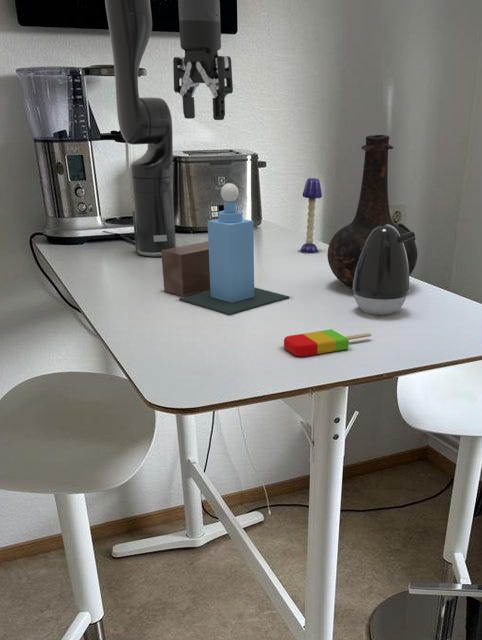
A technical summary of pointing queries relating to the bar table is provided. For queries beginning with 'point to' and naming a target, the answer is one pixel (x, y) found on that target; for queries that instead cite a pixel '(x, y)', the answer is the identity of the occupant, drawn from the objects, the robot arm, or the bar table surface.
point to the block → (186, 269)
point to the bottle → (231, 251)
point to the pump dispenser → (382, 271)
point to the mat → (230, 308)
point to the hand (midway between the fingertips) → (203, 119)
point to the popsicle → (318, 342)
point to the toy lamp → (311, 212)
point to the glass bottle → (367, 214)
